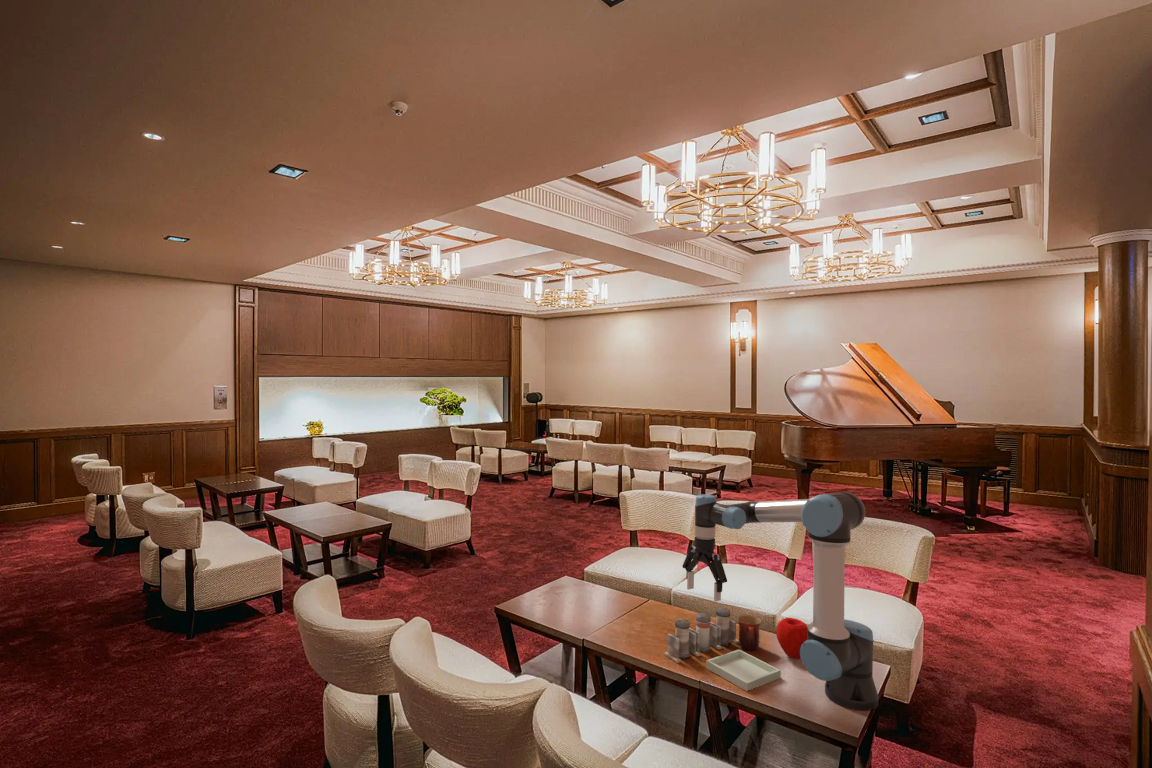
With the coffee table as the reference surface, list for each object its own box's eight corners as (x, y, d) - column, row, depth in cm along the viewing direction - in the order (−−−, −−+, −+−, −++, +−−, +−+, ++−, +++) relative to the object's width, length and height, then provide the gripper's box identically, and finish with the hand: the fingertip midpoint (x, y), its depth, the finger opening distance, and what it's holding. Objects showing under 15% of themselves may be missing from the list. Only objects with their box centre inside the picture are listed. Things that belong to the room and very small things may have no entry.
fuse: (713, 649, 208) (713, 617, 208) (702, 653, 205) (703, 620, 205) (702, 644, 212) (703, 612, 212) (692, 647, 209) (692, 615, 210)
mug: (735, 640, 216) (736, 613, 216) (759, 643, 214) (760, 616, 214) (738, 655, 204) (739, 626, 204) (763, 657, 202) (764, 629, 203)
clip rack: (739, 642, 214) (740, 611, 214) (677, 663, 197) (677, 628, 197) (725, 635, 220) (726, 604, 220) (663, 655, 203) (664, 621, 203)
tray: (780, 678, 188) (780, 670, 188) (747, 691, 179) (747, 683, 179) (738, 656, 203) (739, 649, 203) (706, 668, 194) (706, 660, 194)
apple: (768, 650, 208) (769, 614, 208) (796, 647, 211) (797, 611, 211) (788, 665, 197) (789, 627, 197) (817, 662, 200) (818, 624, 200)
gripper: (738, 543, 201) (736, 603, 201) (688, 528, 222) (687, 582, 221) (723, 546, 197) (722, 607, 196) (674, 530, 218) (672, 585, 217)
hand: (703, 594), depth 209 cm, fingers open, 13 cm apart
